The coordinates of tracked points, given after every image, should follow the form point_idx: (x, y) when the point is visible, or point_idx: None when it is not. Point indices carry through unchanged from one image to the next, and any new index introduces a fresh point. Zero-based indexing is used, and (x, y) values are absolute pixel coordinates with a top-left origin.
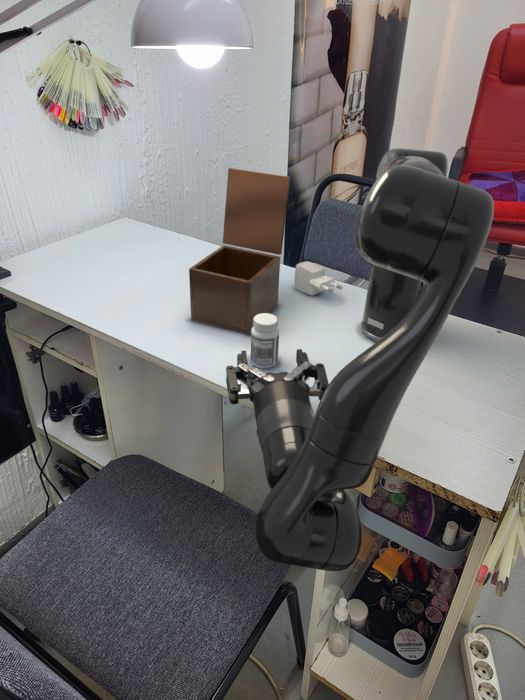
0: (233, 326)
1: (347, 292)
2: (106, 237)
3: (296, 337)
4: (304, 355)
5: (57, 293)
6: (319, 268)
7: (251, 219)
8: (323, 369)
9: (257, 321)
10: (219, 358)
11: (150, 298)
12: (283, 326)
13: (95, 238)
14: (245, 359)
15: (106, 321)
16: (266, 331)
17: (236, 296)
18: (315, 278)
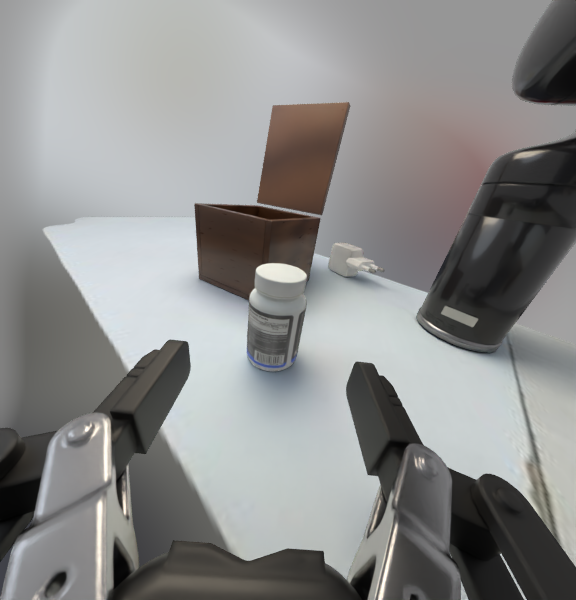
0: (244, 291)
1: (382, 280)
2: (184, 221)
3: (329, 319)
4: (386, 392)
5: (84, 238)
6: (359, 248)
7: (291, 170)
8: (564, 563)
9: (261, 273)
10: (196, 336)
11: (174, 254)
12: (312, 302)
13: (175, 220)
14: (141, 387)
15: (93, 264)
16: (278, 297)
17: (250, 245)
18: (353, 257)
